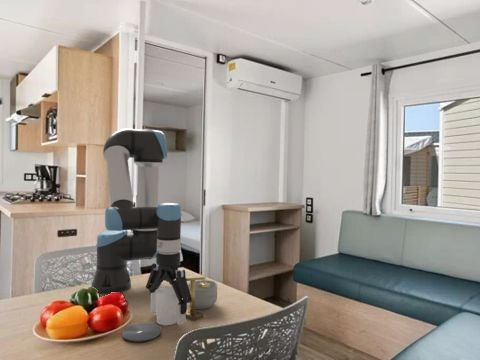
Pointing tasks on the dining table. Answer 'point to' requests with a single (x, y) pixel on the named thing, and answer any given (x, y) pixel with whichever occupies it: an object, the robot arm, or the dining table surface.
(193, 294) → the balance
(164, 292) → the white cup
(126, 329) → the dish
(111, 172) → the robot arm
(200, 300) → the teacup
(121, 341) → the dining table surface
